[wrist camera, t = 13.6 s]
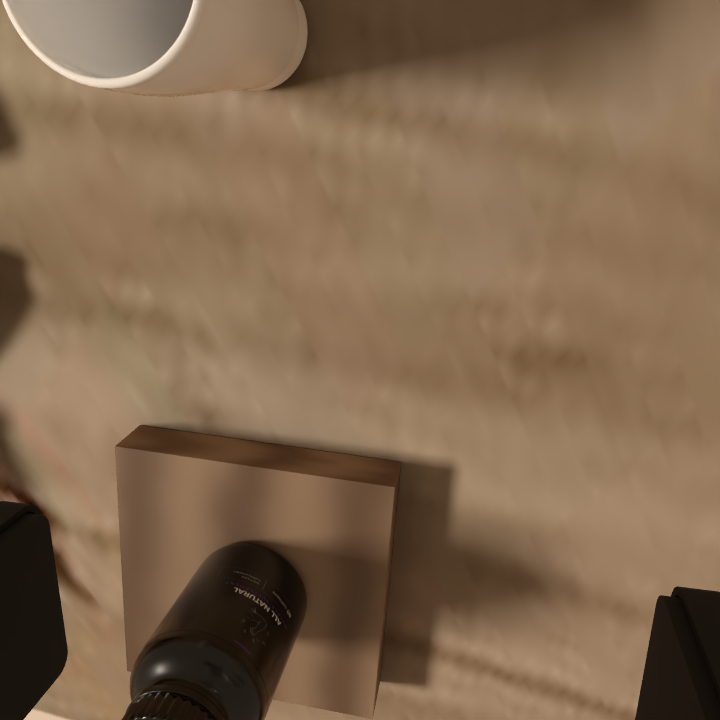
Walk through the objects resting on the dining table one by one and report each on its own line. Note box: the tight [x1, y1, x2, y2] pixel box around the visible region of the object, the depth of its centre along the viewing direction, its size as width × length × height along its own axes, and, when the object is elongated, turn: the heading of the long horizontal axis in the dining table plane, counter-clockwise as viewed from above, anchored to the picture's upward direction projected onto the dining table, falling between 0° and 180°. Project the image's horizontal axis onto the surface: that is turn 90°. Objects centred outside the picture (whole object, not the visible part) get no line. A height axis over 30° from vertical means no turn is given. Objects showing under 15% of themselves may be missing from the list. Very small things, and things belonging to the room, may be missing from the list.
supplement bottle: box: [122, 543, 307, 720], centre depth 35 cm, size 7×7×12 cm
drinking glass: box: [2, 0, 308, 97], centre depth 27 cm, size 7×7×15 cm
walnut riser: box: [115, 425, 401, 719], centre depth 42 cm, size 16×16×3 cm
